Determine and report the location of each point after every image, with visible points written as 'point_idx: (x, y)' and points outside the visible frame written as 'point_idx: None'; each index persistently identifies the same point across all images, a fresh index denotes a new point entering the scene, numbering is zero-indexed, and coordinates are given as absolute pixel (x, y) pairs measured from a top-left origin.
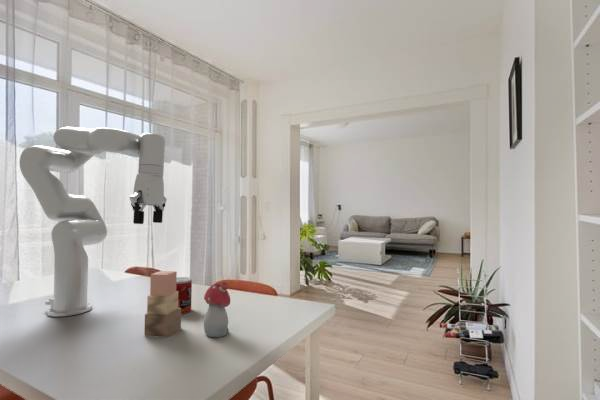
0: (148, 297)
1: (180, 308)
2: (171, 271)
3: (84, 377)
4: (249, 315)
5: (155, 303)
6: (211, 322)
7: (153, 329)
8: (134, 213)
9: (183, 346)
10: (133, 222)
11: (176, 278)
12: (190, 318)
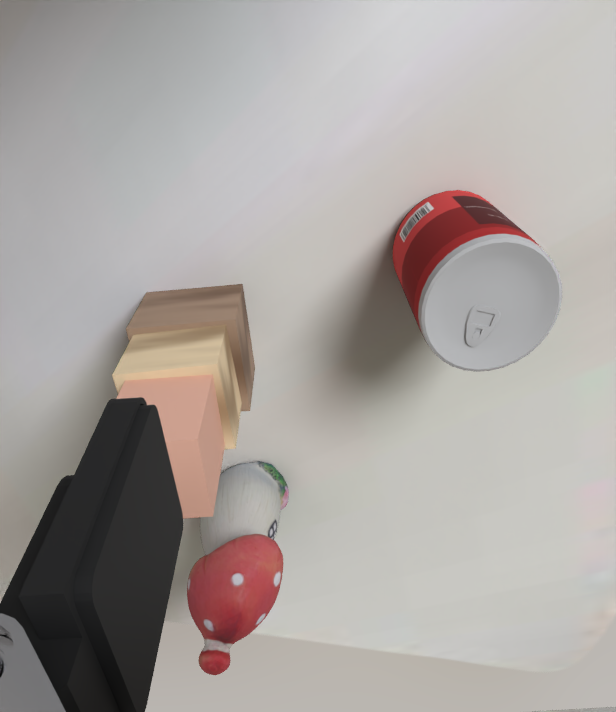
0: (115, 375)
1: (245, 410)
2: (203, 495)
3: None
4: (431, 511)
5: None
6: (200, 528)
7: None
8: (49, 552)
9: None
10: (109, 403)
11: (532, 261)
12: (359, 344)
